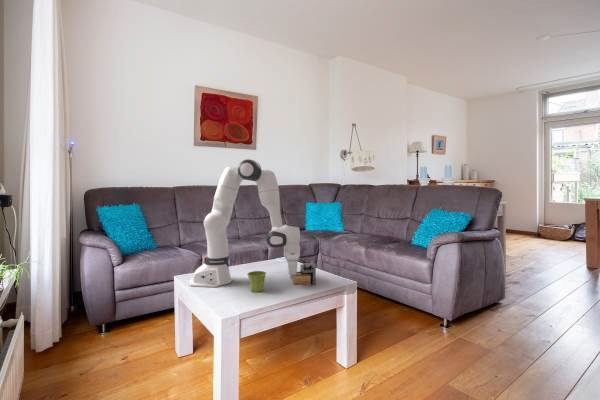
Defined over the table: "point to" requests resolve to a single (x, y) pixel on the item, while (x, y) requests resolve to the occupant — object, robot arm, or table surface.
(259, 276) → the plant pot
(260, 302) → the table surface
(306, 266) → the bracket
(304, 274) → the block
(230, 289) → the table surface
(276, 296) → the table surface
